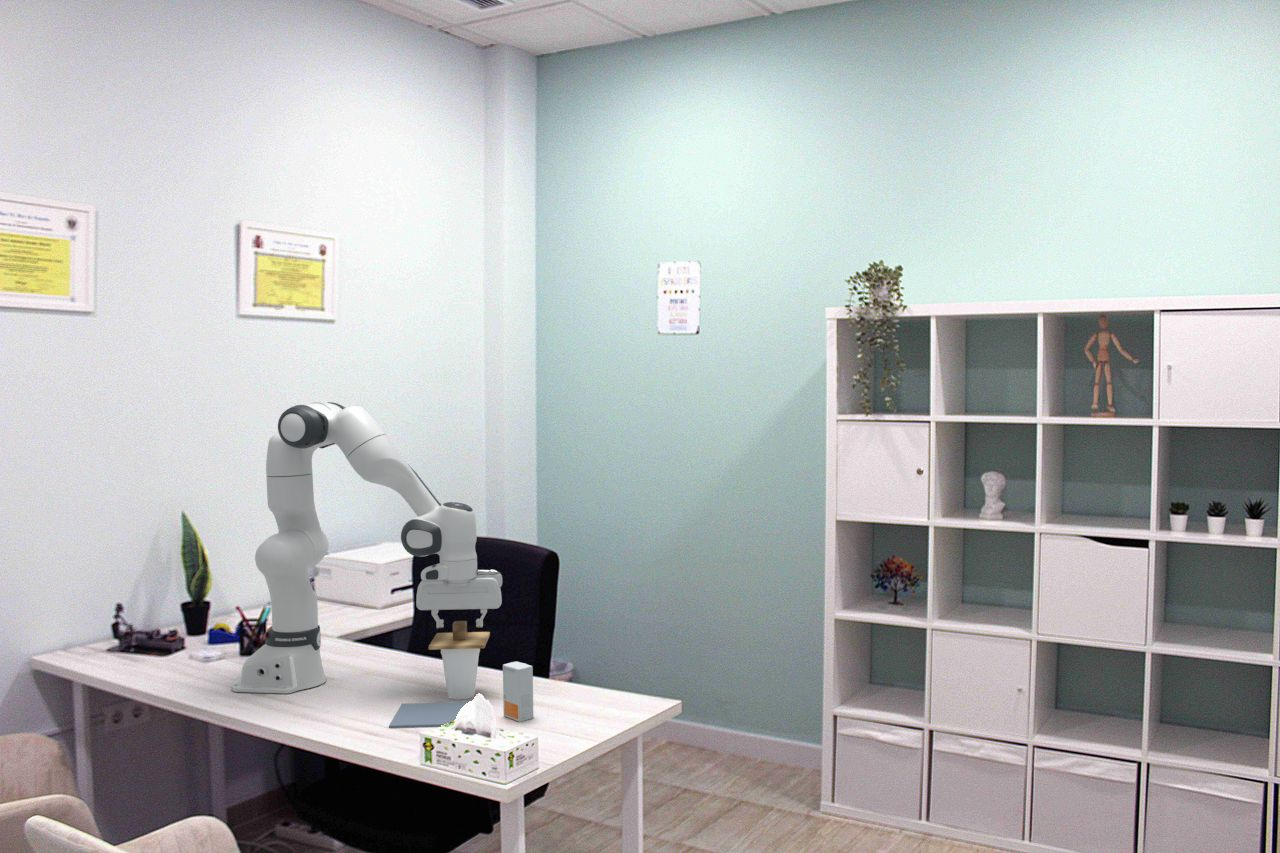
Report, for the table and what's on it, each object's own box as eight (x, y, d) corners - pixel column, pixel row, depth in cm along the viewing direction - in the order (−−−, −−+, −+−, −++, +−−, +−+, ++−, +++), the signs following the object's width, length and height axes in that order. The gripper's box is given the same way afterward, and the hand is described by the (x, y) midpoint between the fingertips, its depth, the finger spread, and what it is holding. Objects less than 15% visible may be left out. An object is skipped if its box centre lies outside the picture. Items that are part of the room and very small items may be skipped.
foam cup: (433, 698, 257) (432, 644, 256) (457, 687, 265) (456, 635, 265) (465, 703, 253) (464, 648, 252) (488, 692, 261) (487, 639, 260)
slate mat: (388, 727, 235) (388, 725, 235) (401, 705, 251) (401, 703, 251) (471, 725, 236) (471, 723, 236) (479, 703, 252) (479, 701, 252)
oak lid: (428, 649, 252) (428, 629, 251) (437, 636, 265) (436, 616, 264) (484, 648, 252) (483, 628, 252) (489, 635, 265) (489, 615, 265)
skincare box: (502, 716, 242) (501, 664, 242) (517, 712, 245) (516, 660, 245) (519, 722, 238) (518, 669, 237) (534, 718, 241) (533, 665, 240)
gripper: (503, 567, 261) (504, 623, 262) (418, 568, 260) (419, 625, 261) (501, 571, 255) (502, 629, 255) (414, 573, 254) (415, 631, 255)
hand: (459, 627), depth 258 cm, fingers open, 8 cm apart
